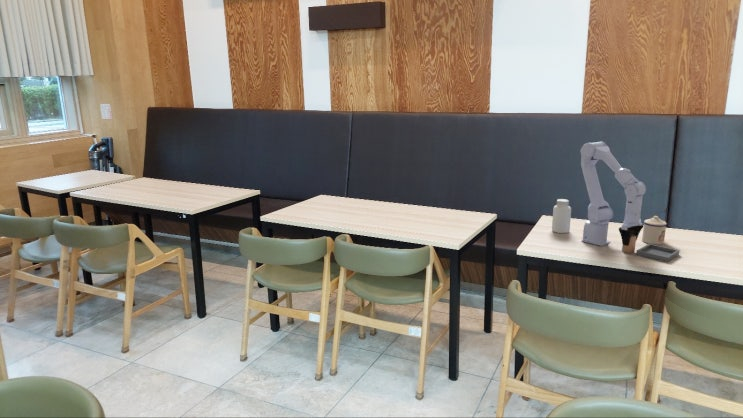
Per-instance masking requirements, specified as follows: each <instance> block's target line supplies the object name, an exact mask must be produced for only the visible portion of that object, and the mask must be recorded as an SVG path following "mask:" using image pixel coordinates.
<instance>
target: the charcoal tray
mask: <svg viewBox="0 0 743 418" xmlns="http://www.w3.org/2000/svg"><path fill="white" fill-rule="evenodd" d="M635 252H636V253H635V256H638V257H641V258H647V259H651V260H655V261H659V262H664V263H669V262H671V261H672V260H673V259H675V258H676V257H678V256H680V249H674V248H670V247H668V246H667V247H666V246H661V245H655V244H648V243H647V244H645V245H644V246H642V247H640V248H638V249H637V250H635Z"/></svg>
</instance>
